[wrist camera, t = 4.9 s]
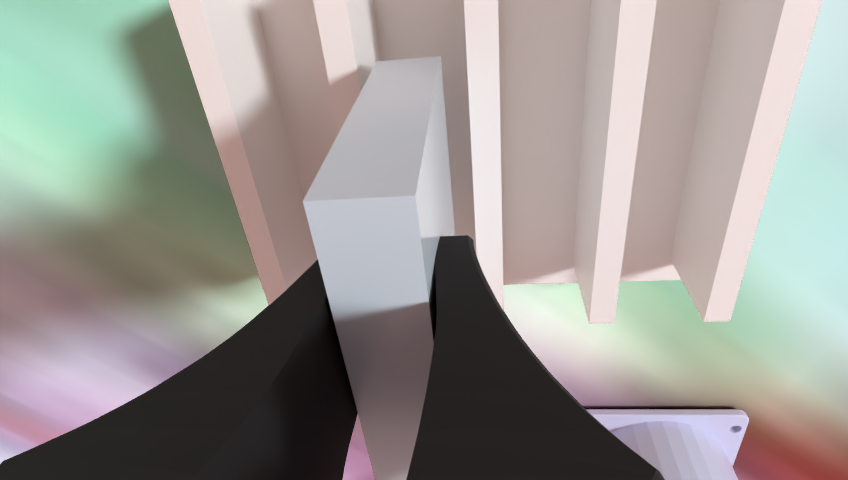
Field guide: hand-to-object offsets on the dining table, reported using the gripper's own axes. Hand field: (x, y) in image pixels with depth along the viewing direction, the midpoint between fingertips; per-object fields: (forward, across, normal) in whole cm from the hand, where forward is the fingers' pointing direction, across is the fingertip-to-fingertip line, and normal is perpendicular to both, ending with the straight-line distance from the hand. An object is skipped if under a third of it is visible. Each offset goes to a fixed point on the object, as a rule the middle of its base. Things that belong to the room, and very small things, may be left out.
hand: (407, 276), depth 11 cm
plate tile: (+4, 0, 0) cm, 4 cm away
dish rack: (+9, -2, 0) cm, 9 cm away
